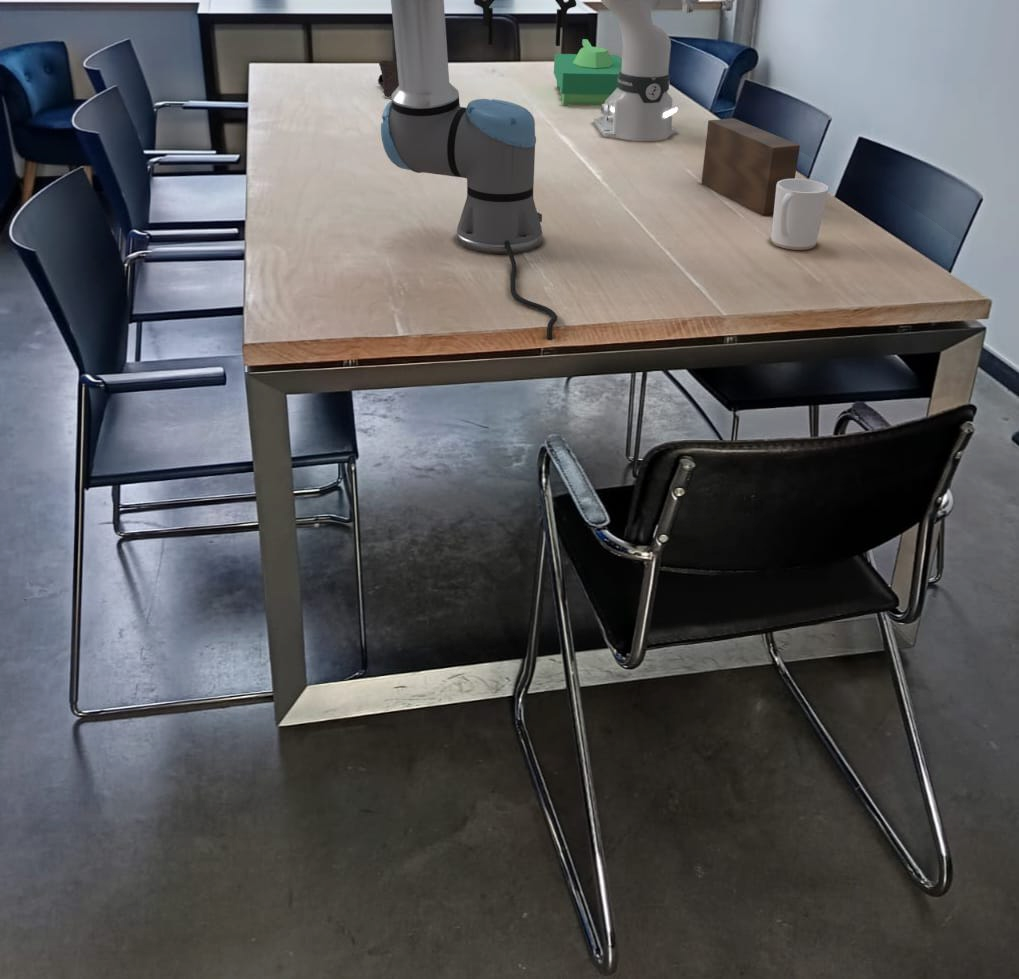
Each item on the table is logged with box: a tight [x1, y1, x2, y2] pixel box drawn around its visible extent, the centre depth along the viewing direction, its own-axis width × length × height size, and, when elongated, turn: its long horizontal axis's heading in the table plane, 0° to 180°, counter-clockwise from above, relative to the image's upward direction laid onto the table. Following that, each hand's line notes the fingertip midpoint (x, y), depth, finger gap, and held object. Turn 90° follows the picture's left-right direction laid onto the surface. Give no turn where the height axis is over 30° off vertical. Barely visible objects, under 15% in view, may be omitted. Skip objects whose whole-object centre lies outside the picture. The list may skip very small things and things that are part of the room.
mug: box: [770, 178, 829, 251], centre depth 194 cm, size 11×9×10 cm
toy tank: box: [553, 38, 622, 106], centre depth 299 cm, size 18×12×35 cm
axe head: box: [377, 59, 399, 98], centre depth 299 cm, size 18×8×15 cm
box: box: [701, 117, 801, 217], centre depth 218 cm, size 23×6×13 cm, turn 23°
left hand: (524, 44), depth 221 cm, fingers open, 13 cm apart
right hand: (707, 11), depth 224 cm, fingers open, 8 cm apart
